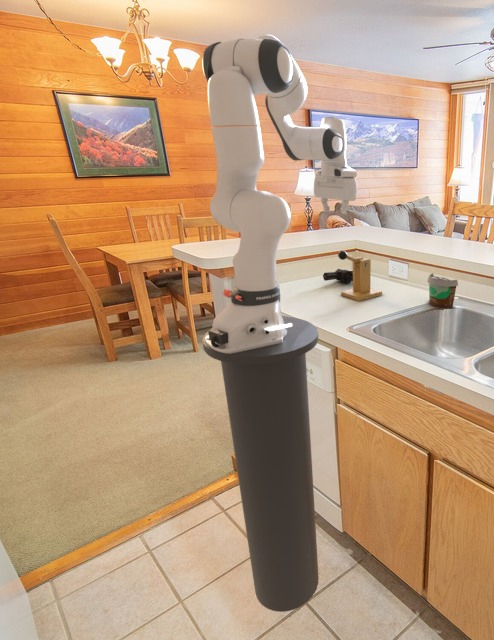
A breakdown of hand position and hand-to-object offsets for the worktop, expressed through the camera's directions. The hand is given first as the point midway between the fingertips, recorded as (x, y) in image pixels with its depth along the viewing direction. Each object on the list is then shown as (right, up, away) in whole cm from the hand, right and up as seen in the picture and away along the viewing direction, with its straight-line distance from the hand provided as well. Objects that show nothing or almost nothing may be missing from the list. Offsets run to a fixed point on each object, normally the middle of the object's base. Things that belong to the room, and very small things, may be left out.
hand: (334, 212), depth 158 cm
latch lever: (+6, -19, -1) cm, 19 cm away
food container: (+37, -34, -1) cm, 50 cm away
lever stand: (+9, -29, +8) cm, 31 cm away
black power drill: (+4, -22, +24) cm, 32 cm away
